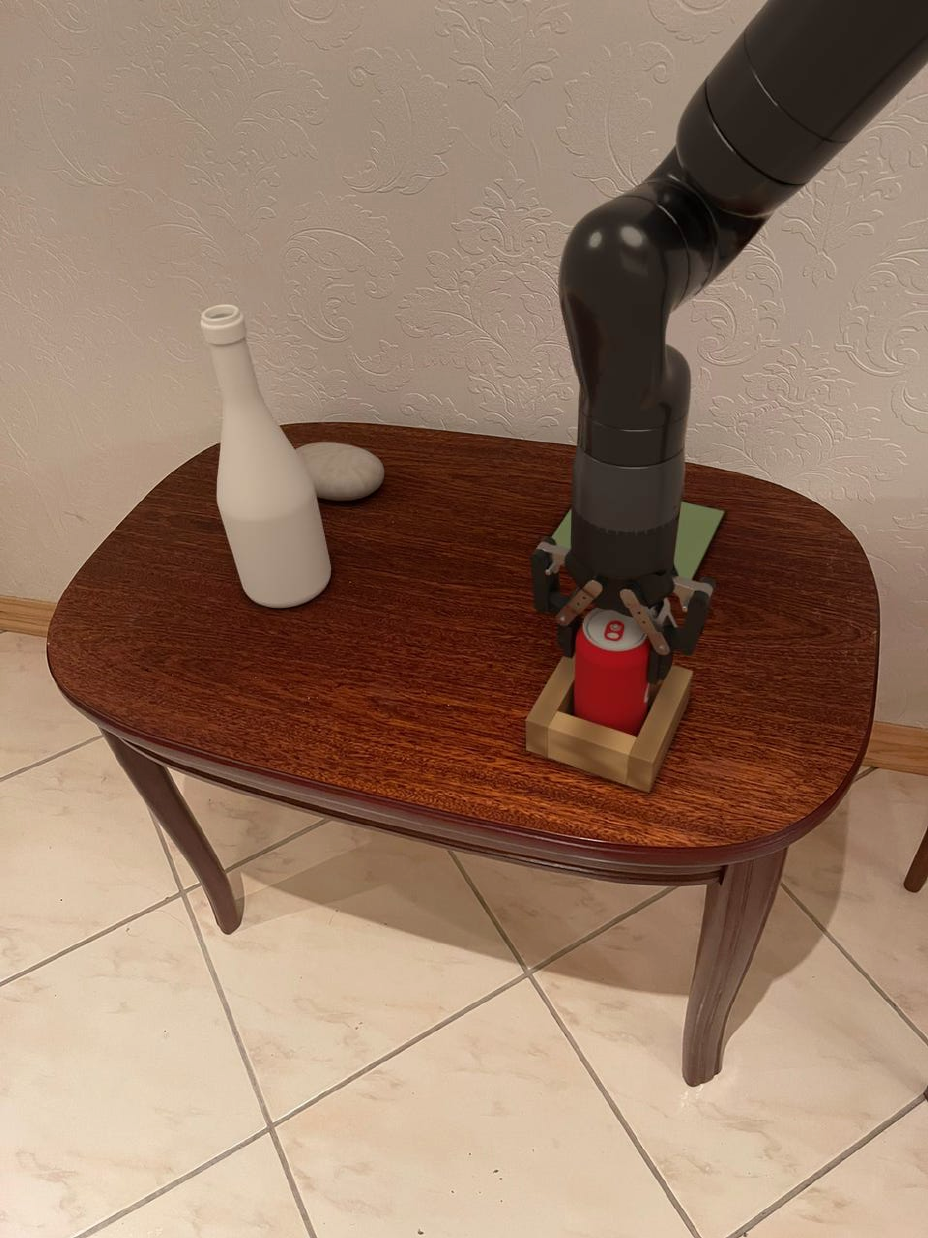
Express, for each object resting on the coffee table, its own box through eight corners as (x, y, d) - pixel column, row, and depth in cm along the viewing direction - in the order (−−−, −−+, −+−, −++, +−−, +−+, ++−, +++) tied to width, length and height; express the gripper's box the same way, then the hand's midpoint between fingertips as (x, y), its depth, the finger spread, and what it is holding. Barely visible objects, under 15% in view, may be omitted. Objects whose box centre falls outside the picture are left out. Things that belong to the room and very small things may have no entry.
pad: (724, 513, 100) (724, 510, 99) (690, 582, 91) (691, 579, 91) (590, 483, 105) (590, 480, 105) (547, 545, 97) (547, 543, 97)
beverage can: (650, 707, 79) (663, 607, 71) (637, 760, 75) (648, 660, 67) (582, 693, 81) (586, 593, 73) (565, 744, 77) (567, 644, 68)
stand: (688, 701, 79) (693, 670, 77) (649, 793, 72) (653, 763, 70) (573, 666, 83) (574, 635, 81) (525, 750, 76) (525, 719, 74)
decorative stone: (271, 495, 108) (263, 460, 104) (316, 458, 113) (309, 424, 110) (357, 522, 102) (351, 486, 99) (400, 482, 108) (395, 447, 105)
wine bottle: (320, 546, 100) (263, 280, 79) (343, 596, 93) (287, 320, 73) (236, 569, 97) (156, 302, 77) (254, 622, 91) (171, 346, 70)
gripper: (509, 501, 62) (514, 668, 73) (714, 551, 56) (685, 723, 68) (551, 448, 66) (549, 612, 78) (744, 489, 61) (712, 659, 72)
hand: (613, 663), depth 73 cm, fingers open, 6 cm apart
